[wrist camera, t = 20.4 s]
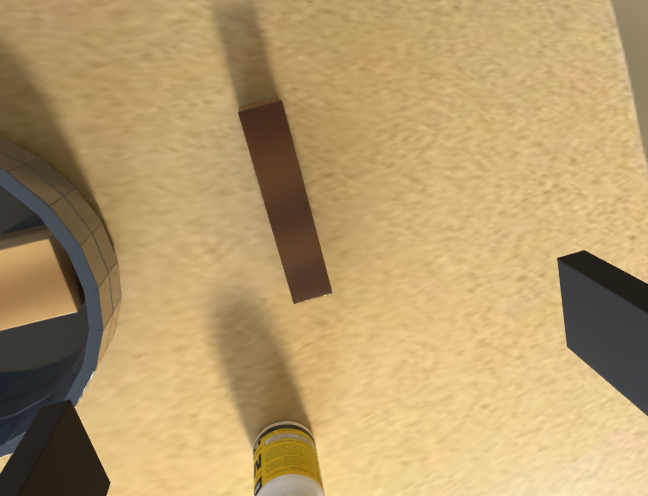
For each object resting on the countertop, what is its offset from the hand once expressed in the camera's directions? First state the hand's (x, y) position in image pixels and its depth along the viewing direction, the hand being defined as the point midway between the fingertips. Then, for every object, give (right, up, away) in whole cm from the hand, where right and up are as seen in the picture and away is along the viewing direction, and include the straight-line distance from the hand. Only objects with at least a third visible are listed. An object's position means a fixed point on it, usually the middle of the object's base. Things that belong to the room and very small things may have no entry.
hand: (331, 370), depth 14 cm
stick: (-3, +7, +21) cm, 23 cm away
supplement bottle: (-3, -12, +27) cm, 30 cm away
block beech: (-17, +2, +20) cm, 27 cm away
